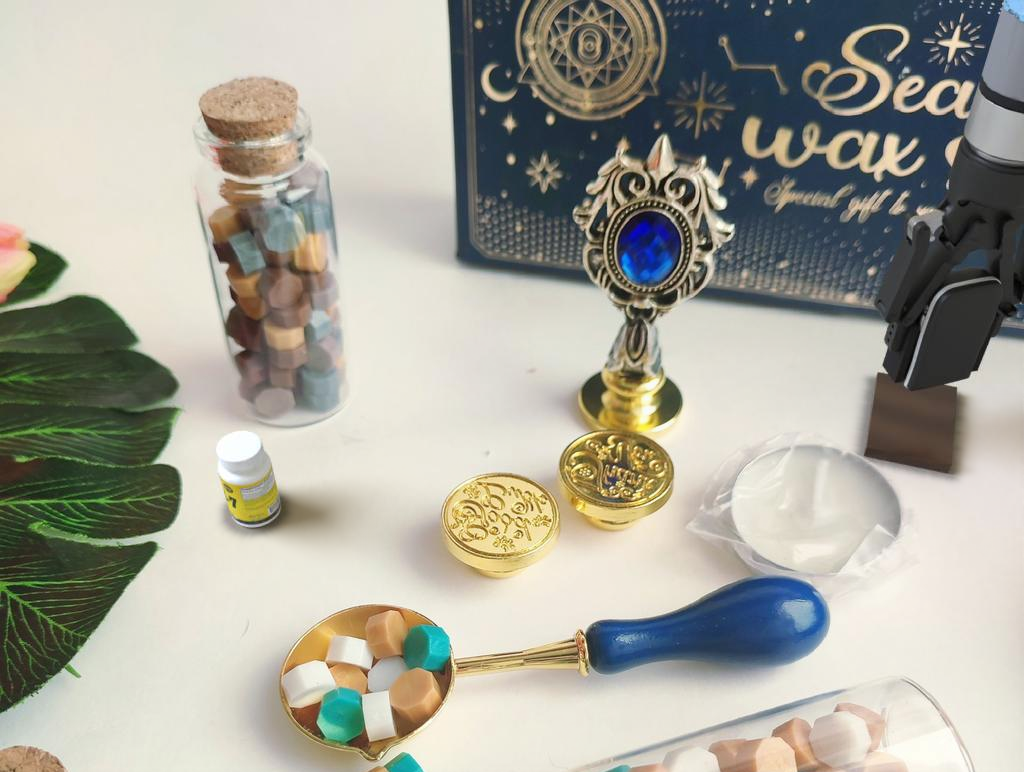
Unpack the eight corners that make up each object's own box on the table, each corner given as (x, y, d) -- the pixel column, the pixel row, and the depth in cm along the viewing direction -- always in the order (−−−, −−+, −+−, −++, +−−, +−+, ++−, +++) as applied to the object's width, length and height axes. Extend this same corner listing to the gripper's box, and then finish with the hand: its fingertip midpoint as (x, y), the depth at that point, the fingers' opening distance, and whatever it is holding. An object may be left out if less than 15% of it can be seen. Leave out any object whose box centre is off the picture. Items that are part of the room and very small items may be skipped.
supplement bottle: (225, 501, 102) (206, 435, 96) (273, 486, 103) (258, 421, 97) (238, 535, 99) (219, 470, 93) (288, 519, 100) (272, 454, 94)
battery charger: (949, 356, 105) (986, 256, 97) (971, 380, 103) (1012, 279, 94) (886, 370, 104) (918, 269, 95) (907, 395, 101) (942, 293, 93)
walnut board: (874, 380, 113) (877, 371, 112) (954, 395, 111) (957, 386, 110) (863, 456, 105) (866, 447, 104) (948, 473, 104) (951, 464, 103)
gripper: (1096, 110, 90) (1005, 331, 107) (873, 134, 87) (816, 357, 104) (1150, 154, 85) (1045, 378, 102) (915, 182, 82) (848, 408, 99)
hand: (929, 367), depth 103 cm, fingers closed on battery charger, 7 cm apart
